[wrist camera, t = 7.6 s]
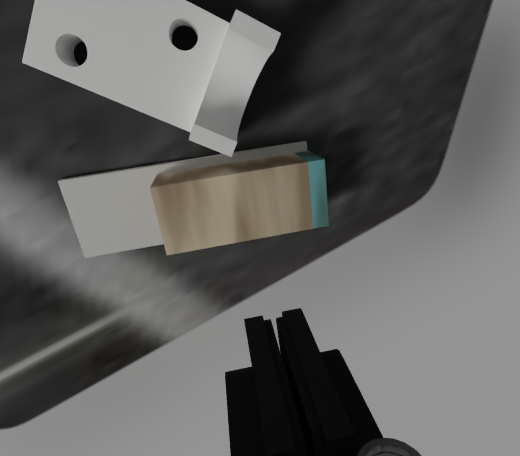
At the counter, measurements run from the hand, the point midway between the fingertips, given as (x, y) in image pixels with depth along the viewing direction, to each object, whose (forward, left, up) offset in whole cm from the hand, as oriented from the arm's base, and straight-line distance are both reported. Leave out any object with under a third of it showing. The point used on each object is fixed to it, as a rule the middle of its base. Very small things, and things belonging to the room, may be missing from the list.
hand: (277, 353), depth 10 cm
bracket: (+3, -10, -20) cm, 23 cm away
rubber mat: (+3, 0, -20) cm, 20 cm away
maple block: (+5, 0, -17) cm, 18 cm away
